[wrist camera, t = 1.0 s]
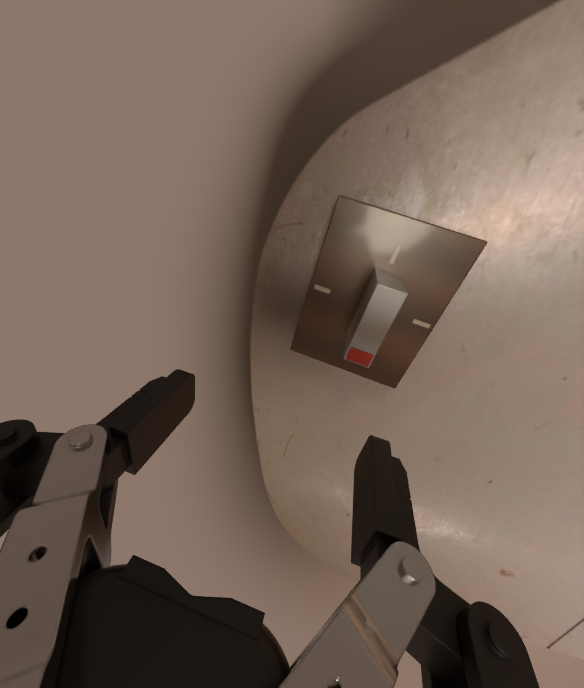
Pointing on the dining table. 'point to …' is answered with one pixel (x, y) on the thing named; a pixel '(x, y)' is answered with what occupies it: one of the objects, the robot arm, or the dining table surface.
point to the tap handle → (374, 317)
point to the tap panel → (355, 272)
